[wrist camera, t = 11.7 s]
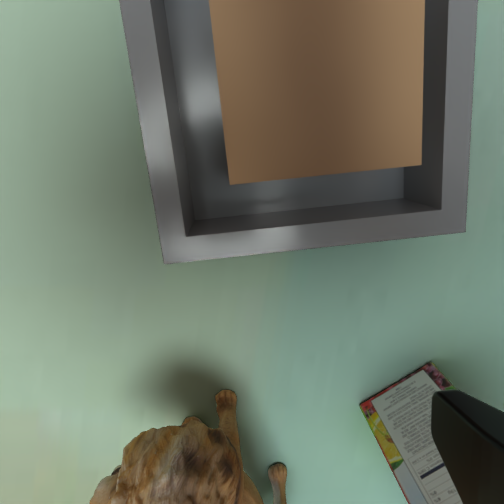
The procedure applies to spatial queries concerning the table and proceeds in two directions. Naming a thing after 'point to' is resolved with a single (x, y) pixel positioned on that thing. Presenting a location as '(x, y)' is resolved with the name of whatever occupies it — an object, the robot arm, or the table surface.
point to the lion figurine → (188, 466)
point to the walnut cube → (319, 85)
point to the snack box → (412, 436)
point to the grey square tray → (295, 189)
